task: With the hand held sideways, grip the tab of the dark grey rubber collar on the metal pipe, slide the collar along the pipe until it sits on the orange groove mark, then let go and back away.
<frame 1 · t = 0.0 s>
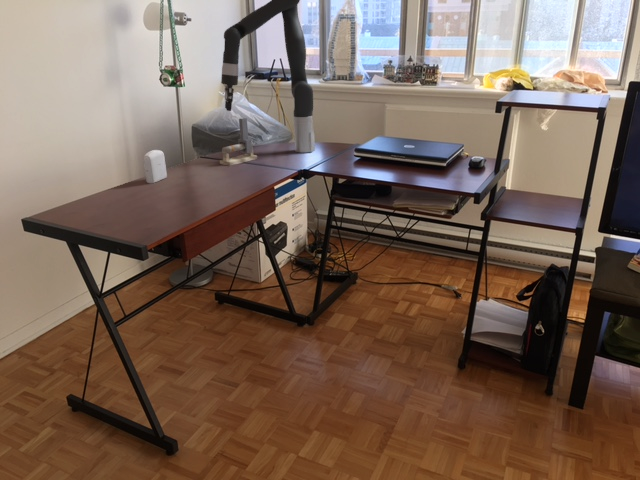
hand: (228, 109, 256), 22 cm above the table, tool pointing down, fingers open, 8 cm apart
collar: (244, 135, 253), point 11 cm above the table, slide at 0.0 cm
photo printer: (157, 180, 224), on the table
pipe stand: (238, 161, 254), on the table
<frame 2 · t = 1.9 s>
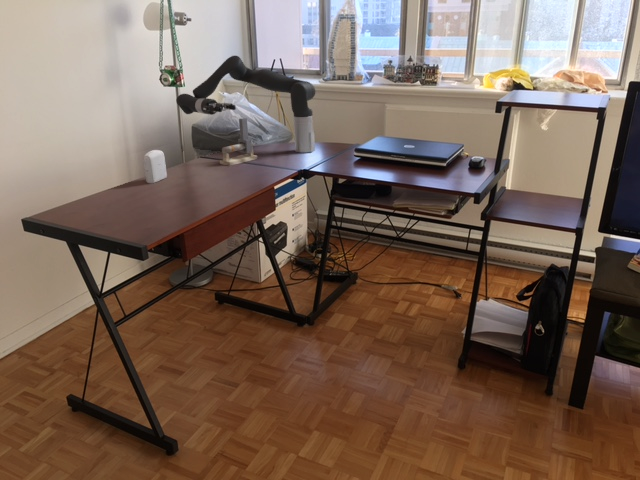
hand: (228, 108, 258), 23 cm above the table, tool horizontal, fingers open, 8 cm apart
nothing on the table moved.
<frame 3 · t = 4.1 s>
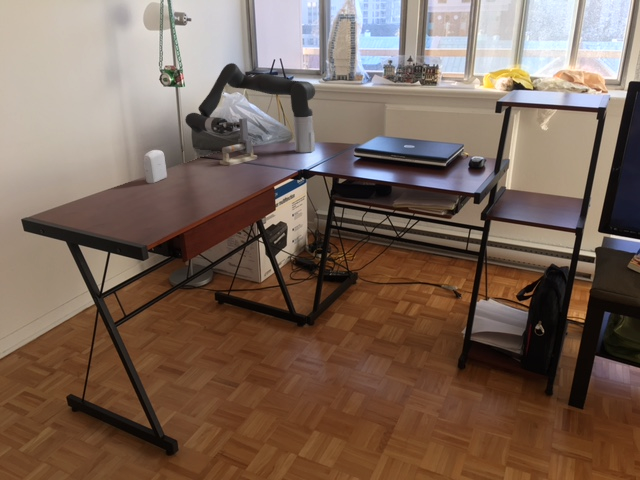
hand: (239, 128, 254), 14 cm above the table, tool horizontal, fingers open, 8 cm apart
nothing on the table moved.
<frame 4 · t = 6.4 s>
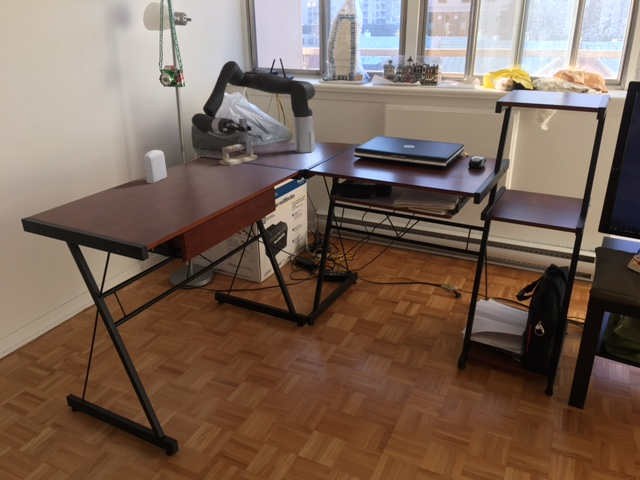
hand: (247, 129, 250), 14 cm above the table, tool horizontal, fingers closed on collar, 3 cm apart
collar: (244, 135, 253), point 11 cm above the table, slide at 0.0 cm, touching gripper
everything else where it was.
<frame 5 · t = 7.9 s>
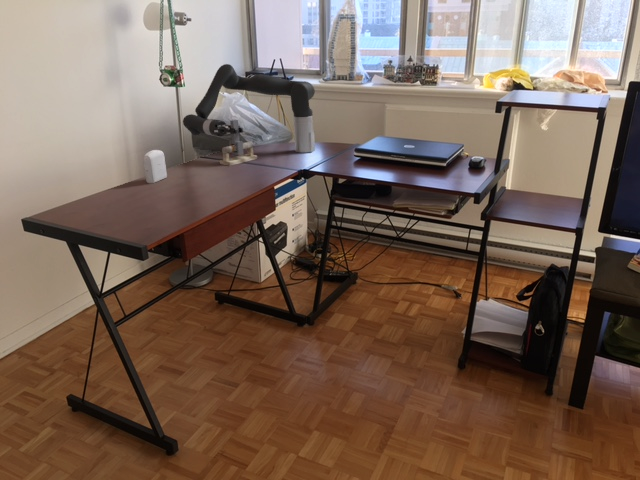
hand: (239, 130, 246), 15 cm above the table, tool horizontal, fingers closed on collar, 3 cm apart
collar: (235, 137, 249), point 11 cm above the table, slide at 5.4 cm, touching gripper
everything else where it was.
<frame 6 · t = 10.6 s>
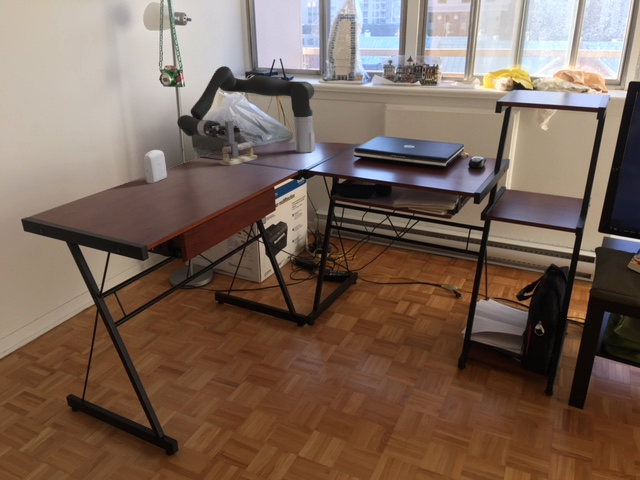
hand: (232, 131, 245), 14 cm above the table, tool horizontal, fingers open, 8 cm apart
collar: (230, 138, 247), point 11 cm above the table, slide at 8.5 cm
everything else where it was.
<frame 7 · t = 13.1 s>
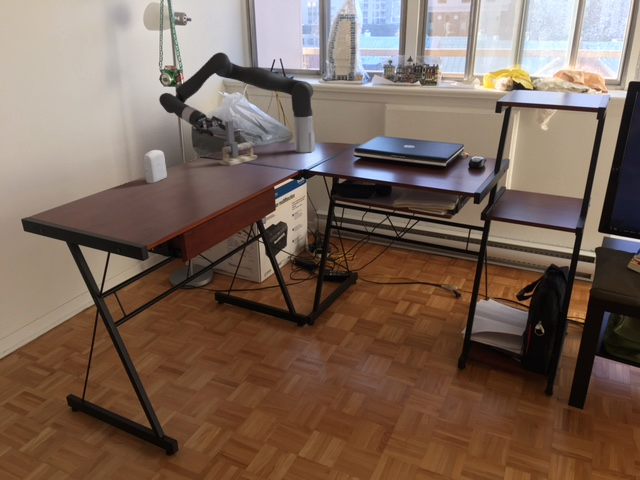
hand: (219, 131, 251), 14 cm above the table, tool tilted 70°, fingers open, 8 cm apart
nothing on the table moved.
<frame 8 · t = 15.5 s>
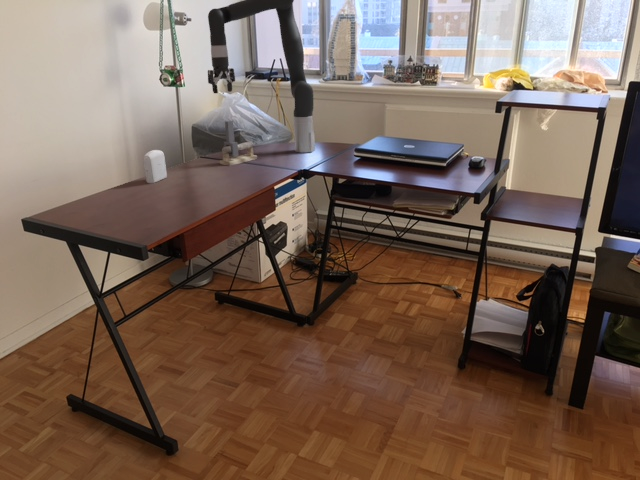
hand: (222, 92, 255), 30 cm above the table, tool pointing down, fingers open, 8 cm apart
nothing on the table moved.
at the end: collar slide at 8.5 cm; the gripper is holding nothing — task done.
